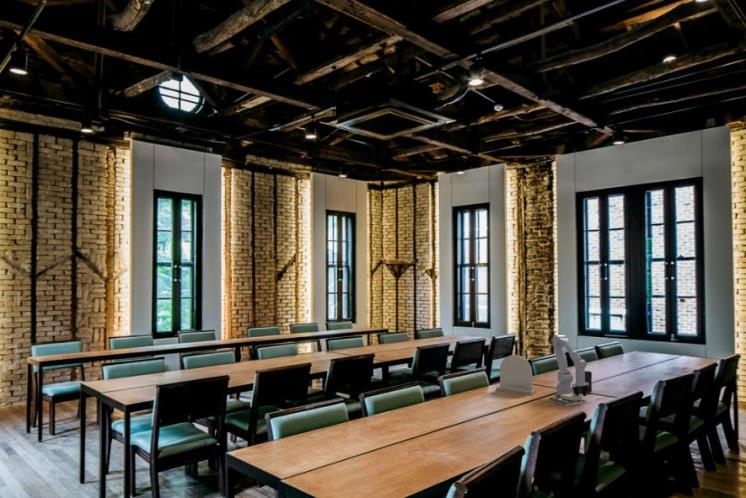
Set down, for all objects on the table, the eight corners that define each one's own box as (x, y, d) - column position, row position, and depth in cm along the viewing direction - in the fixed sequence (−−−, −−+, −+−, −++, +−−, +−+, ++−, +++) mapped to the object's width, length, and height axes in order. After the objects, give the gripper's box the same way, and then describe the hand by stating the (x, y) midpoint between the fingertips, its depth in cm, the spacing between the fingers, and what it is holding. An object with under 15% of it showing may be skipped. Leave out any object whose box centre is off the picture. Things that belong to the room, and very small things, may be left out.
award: (536, 393, 386) (535, 356, 388) (532, 395, 379) (531, 357, 381) (500, 388, 403) (500, 352, 404) (496, 390, 396) (495, 354, 397)
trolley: (560, 399, 364) (560, 394, 364) (570, 398, 368) (570, 393, 369) (571, 402, 355) (571, 397, 355) (582, 401, 360) (582, 396, 360)
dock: (548, 400, 363) (548, 397, 363) (569, 397, 372) (569, 394, 372) (566, 405, 349) (566, 402, 349) (587, 402, 358) (587, 399, 358)
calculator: (590, 390, 398) (589, 371, 398) (592, 391, 393) (591, 372, 394) (575, 390, 399) (575, 370, 399) (577, 391, 394) (576, 371, 395)
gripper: (577, 379, 360) (578, 398, 359) (592, 377, 367) (592, 396, 366) (569, 377, 366) (570, 396, 366) (584, 375, 373) (584, 394, 372)
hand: (580, 396), depth 366 cm, fingers open, 7 cm apart
